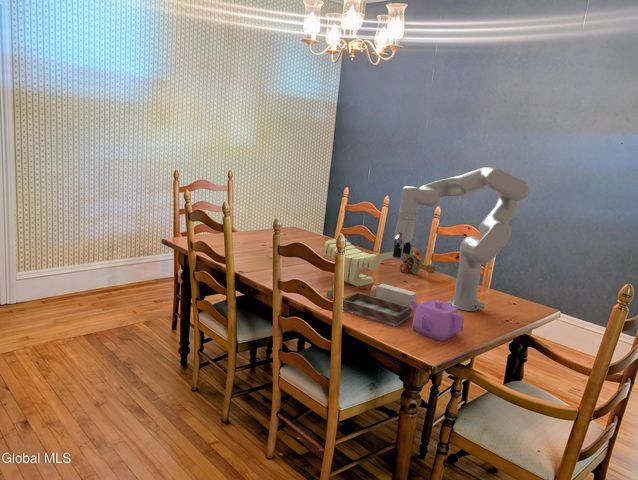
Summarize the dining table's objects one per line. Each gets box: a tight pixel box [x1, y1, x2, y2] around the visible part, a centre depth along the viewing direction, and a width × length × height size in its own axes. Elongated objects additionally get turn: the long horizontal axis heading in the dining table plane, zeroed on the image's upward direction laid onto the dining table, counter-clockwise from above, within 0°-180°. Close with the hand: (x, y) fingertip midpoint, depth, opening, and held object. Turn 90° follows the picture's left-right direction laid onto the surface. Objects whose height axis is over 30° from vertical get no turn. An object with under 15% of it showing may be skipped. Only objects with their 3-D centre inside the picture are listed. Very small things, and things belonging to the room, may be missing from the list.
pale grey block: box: [369, 283, 417, 311], centre depth 207 cm, size 19×5×7 cm, turn 57°
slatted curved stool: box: [322, 237, 394, 287], centre depth 233 cm, size 30×16×18 cm, turn 47°
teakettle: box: [410, 299, 465, 342], centre depth 180 cm, size 17×17×12 cm
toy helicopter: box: [399, 246, 436, 275], centre depth 254 cm, size 8×21×14 cm, turn 39°
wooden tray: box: [342, 291, 412, 327], centre depth 194 cm, size 25×14×4 cm, turn 56°
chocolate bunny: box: [325, 277, 335, 300], centre depth 206 cm, size 6×8×10 cm
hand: (401, 255), depth 204 cm, fingers open, 9 cm apart
